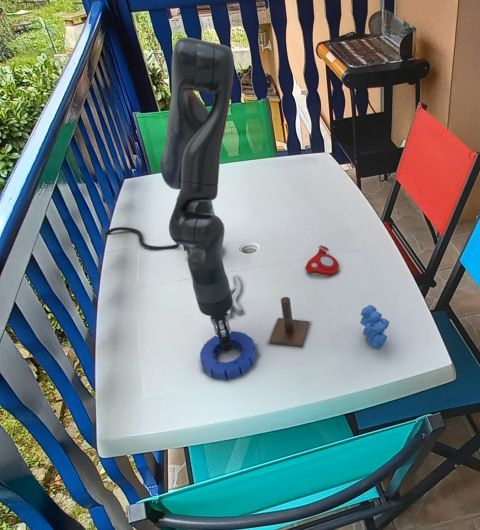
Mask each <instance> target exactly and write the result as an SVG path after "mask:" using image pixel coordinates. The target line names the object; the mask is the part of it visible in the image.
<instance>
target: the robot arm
mask: <svg viewBox="0 0 480 530" xmlns="http://www.w3.org/2000/svg"><path fill="white" fill-rule="evenodd" d="M234 74H235V57H234V52H233V50H232V49H231V48H230V47H229V46H228V45H225V44H221V43H216V42H211V41H208V40H207V41H206V40H202V39H197V38H194V37H180V38H178V39H177V40H176V42H175V43H174V47H173V49H172V56H171V95H170V96H171V97H170V103H169V109H168V115H167V124H166V139H165V145H164V148H163V151H162V155H161V158H160V173H161V176H162V177H161V178H162V179H163V182H164V183H165V184H166V185H167V186H168V187H169V189H172V190H179V192H178V196H177V197H176V201H175V204H174V207H173V211H172V213H171V216H170V219H169V223H168V233H169V236H170V238H171V240H172V241H173V242H174V243H175V244H173V245H167V246H156V245H155V246H154V245H150V244H146V243H145V242H144V239H143V235H142V232H141V231H140V230H138V229H136V228H133V227H127V226H118V227H112V228H110V229H108V230H106V232H105V233H104V235H106V236H108V235H110V234H111V233H113V232H116V231H127V232H133V233H136V234H137V235H138V242H139V244H140V245H141V246H142V248H143V247H144V248H145V249H148V250H155V251H161V250H163V251H164V250H171V249H177V248H179V247H180V246H182V248H183V251H185V252H186V253H187V266H188V269H189V273H190V277H191V281H192V288H193V291H194V295H195V299H196V302H197V306H198V309H199V311H200V313H201V314H203V315H205V316H208V317H209V318H210V322H211V325H212V326H213V329H214V333H215V335H216V336H217V337H219V341H220V345H221V346H222V349H223V350H222V352H224V353H225V352H229V351H232V350H233V348H232V345H231V342H232V340H231V339H230V338H231V336H230V335H229V332H230V333H231V325H230V322H229V321H230V318H229V317H228V313H227V311H229V310H230V308H231V307H232V305H233V299H232V295H233V293H231V290H232V289H231V286H230V282H229V278H228V274H227V272H226V269H225V266H224V260H223V254H224V248H223V245H224V239H225V224H224V222H223V221H222V219H221V218H220V217H219V216H218V215H216V214H215V213H216V212H215V209H214V205H213V201H215V200H216V199H217V198H218V197H217V196H218V193H219V192H218V191H219V178H220V163H221V154H222V147H223V146H222V145H223V141H224V135H225V132H226V131H225V130H226V126H227V119H228V114H229V108H230V102H231V97H232V96H231V95H232V90H233V83H234ZM194 91H195V92H194ZM196 92H200V93H206V94H212V95H213V99H212V104H211V108H210V109H209V110H208V108H207V106H206V104H204V102H203V100H202V99H201V98H200V97H199V95H197V94H196Z"/></svg>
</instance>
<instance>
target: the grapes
mask: <svg viewBox="0 0 480 530" xmlns="http://www.w3.org/2000/svg"><path fill="white" fill-rule="evenodd" d="M377 310H378V309H377V307H375V306H374V305H372V304H369V305H367V306H365V307H363V308H362V310H361V312H360V314H359V315H360V316H362V317H361V319H360V322H359V323H360V325H362V326H364V328H363V331H362V335H364V337H367V338H368V339H367V342H366V343H367V344H368V345H370V346H371V347H372V348H374V349H376V350H381V349H383V347H384V345H385V343H386V341H387V338H388V336H387V334H385V333H384V332H385V331H386V330H387V329H388V327H389V325H390V321H389V320H388V319H387V318H384V317H382V316H383V314H382V313H381V312H379V311H377Z"/></svg>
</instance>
